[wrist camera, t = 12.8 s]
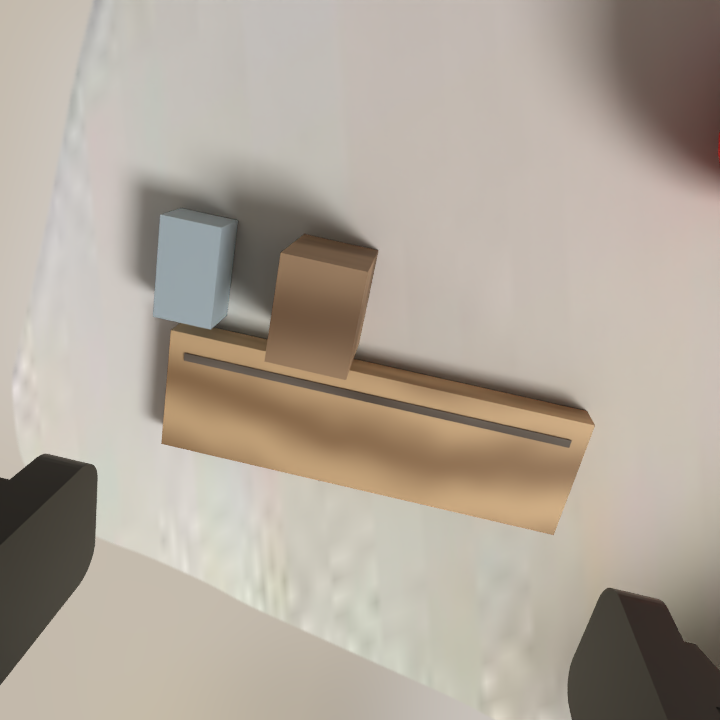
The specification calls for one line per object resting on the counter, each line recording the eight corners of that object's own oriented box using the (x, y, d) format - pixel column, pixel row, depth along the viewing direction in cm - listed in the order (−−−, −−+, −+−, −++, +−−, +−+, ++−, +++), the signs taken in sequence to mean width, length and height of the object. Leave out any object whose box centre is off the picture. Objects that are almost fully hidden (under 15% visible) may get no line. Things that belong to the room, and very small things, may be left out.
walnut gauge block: (304, 233, 36) (280, 252, 31) (378, 250, 36) (368, 272, 30) (289, 328, 38) (264, 361, 33) (358, 343, 38) (345, 380, 33)
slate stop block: (181, 208, 36) (160, 214, 34) (238, 220, 36) (221, 227, 33) (173, 303, 39) (152, 316, 36) (226, 315, 38) (210, 329, 36)
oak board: (183, 320, 39) (170, 330, 37) (587, 411, 38) (595, 426, 36) (173, 429, 42) (160, 444, 40) (548, 516, 41) (553, 535, 39)
